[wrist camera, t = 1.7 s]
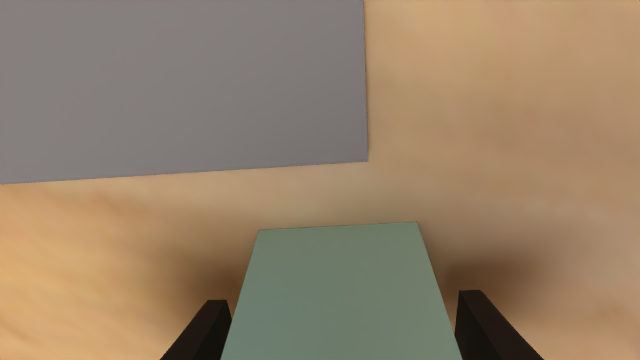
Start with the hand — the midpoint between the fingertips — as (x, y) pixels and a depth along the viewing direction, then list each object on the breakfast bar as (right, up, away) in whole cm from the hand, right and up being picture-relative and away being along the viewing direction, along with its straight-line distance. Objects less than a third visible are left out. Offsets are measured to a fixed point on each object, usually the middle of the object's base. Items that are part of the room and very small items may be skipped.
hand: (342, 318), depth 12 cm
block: (0, +1, +1) cm, 2 cm away
